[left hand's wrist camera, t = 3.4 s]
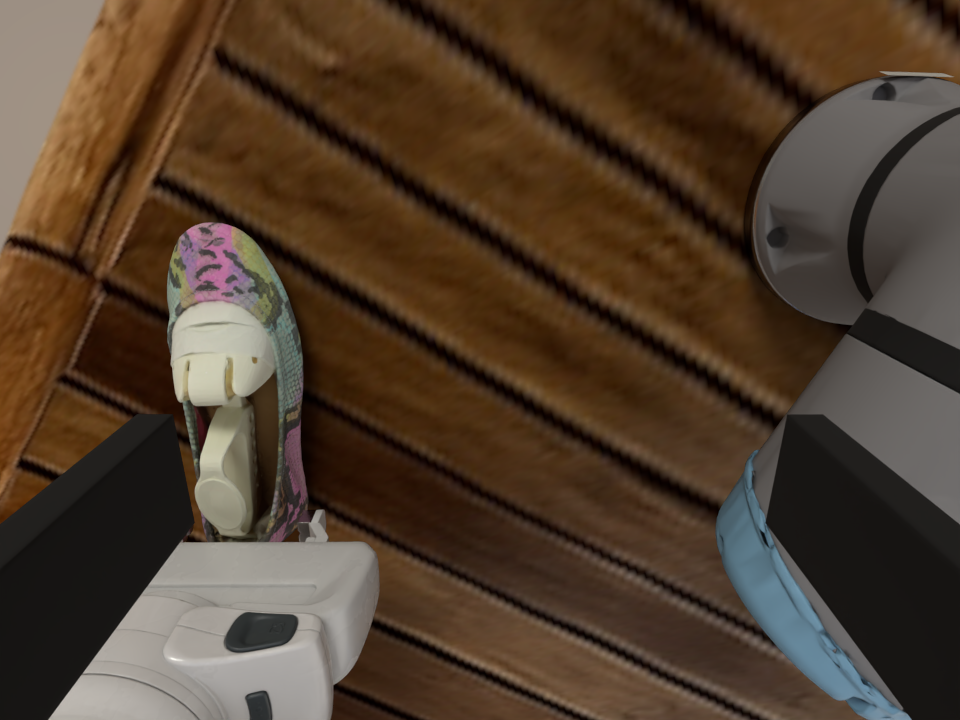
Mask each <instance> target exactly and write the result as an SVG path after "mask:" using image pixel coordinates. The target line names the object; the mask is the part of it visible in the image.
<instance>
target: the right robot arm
mask: <svg viewBox="0 0 960 720" xmlns="http://www.w3.org/2000/svg"><path fill="white" fill-rule="evenodd" d="M297 526H298V531H299V532H300V534H299V541H300V542H185V541H186V540H187V536H188V535H190V534H191V532H192V530H193V526H192V527H191V528H190V530H189V531H188V532H187V534H186V535H185V536H184V538H183V539H182V541H181V542H180V543H179V545H178V546H177V547H176V549H175V550H174V551H173V553H172V554H171V555H170V557H169V558H168V559H167V561H166V562H165V563H164V565H163V566H162V567H161V569H160V570H159V571H158V573H157V574H156V576H155V577H154V578H153V580H152V581H151V582H150V584H149V585H148V586H147V588H146V589H145V590H144V592H143V593H142V594H141V596H140V597H139V598H138V600H137V601H136V602H135V604H134V605H133V606H132V608H131V609H130V610H129V612H128V613H127V615H126V616H125V617H124V619H123V620H122V621H121V623H120V624H119V625H118V627H117V628H116V629H115V631H114V632H113V633H112V635H111V636H110V637H109V639H108V640H107V641H106V643H105V644H104V645H103V647H102V648H101V650H100V651H99V652H98V654H97V655H96V656H95V658H94V659H93V660H92V662H91V663H90V664H89V666H88V667H87V668H86V670H85V671H84V672H83V674H82V675H81V676H80V678H79V679H78V680H77V682H76V683H75V684H74V686H73V687H72V689H71V690H70V691H69V693H68V694H67V695H66V697H65V698H64V699H63V701H62V702H61V703H60V705H59V706H58V707H57V709H56V710H55V711H54V713H53V714H52V715H51V717H50V718H49V719H48V720H331V715H332V708H333V685H334V684H336V683H338V682H339V681H340V680H342V679H343V678H344V677H345V676H346V675H347V674H348V673H349V672H350V670H351V669H352V668H353V666H354V665H355V663H356V661H357V659H358V657H359V655H360V653H361V650H362V648H363V645H364V643H365V641H366V638H367V635H368V632H369V629H370V626H371V623H372V620H373V617H374V613H375V610H376V606H377V602H378V597H379V566H378V558H377V554H376V552H375V551H374V550H373V549H372V548H371V547H370V546H369V545H368V544H367V543H365V542H329V539H328V535H327V534H326V532H325V531H326V517H325V510H303V511H302V516H300V517H299V519H298V522H297Z"/></svg>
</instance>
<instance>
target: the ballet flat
mask: <svg viewBox="0 0 960 720" xmlns="http://www.w3.org/2000/svg"><path fill="white" fill-rule="evenodd" d="M167 300H168V306H169V312H170V320H169V325H168V345H169V349H170V354H171V366H172V368H173V379H174V387H175V393H176V396H177V399H178V401H179V402H183V407H184V411H185V417H186V423H187V427H188V432H189V437H190V443H191V449H192V454H193V460H194V467H195V474H196V478H197V484H196V487H195V498H196V501H197V504H198V507H199V509H200V511H201V516H202V523H203V527H204V531H205V534H206V538H207V541H208V542H283V541H284V540H285V539H286V538H287V537H288V536H289V535H290V534H291V533H292V532H293V531H294V530H295V529H296V528H297V527H298V526H297V522H298V519H299V517H300V516H302V511H303V510H307V507H308V493H307V488H306V483H305V475H304V471H303V464H302V459H301V441H300V436H301V430H300V428H301V406H302V395H303V354H302V347H301V341H300V336H299V332H298V328H297V324H296V320H295V317H294V313H293V310H292V307H291V304H290V301H289V299H288V296H287V293H286V291H285V289H284V287H283V284H282V282H281V280H280V278H279V276H278V275H277V273H276V271H275V269H274V268H273V266H272V264H271V263H270V262H269V260H268V259H267V257H266V256H265V254H264V253H263V251H262V250H261V248H260V247H259V246H258V245H257V243H256V242H255V241H254V240H253V239H251V238H250V237H249V236H248V235H247V234H245V233H244V232H243V231H241V230H239V229H237V228H235V227H233V226H230V225H227V224H223V223H202V224H199V225H196V226H194V227H192V228H190V229H189V230H187V231H186V232H185V233H184V234H183V235H182V236H181V237H180V238H179V240H178V242H177V244H176V246H175V248H174V251H173V255H172V258H171V262H170V265H169V272H168V283H167Z"/></svg>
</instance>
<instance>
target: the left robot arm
mask: <svg viewBox="0 0 960 720" xmlns="http://www.w3.org/2000/svg"><path fill="white" fill-rule="evenodd" d="M879 72H881V71H879ZM882 73H884V74H887V75H891V76H884V77H877V78H871V79H866V80H862V81H857V82H854V83H851V84H848V85H845V86H843V87H841V88H838V89H836V90H834V91H832V92H830V93H828V94H826V95H825V96H823V97H821V98H819V99H818V100H816V101H815V102H813V103H812V104H810V105H809V106H808V107H806V108H805V109H804V110H803V111H801V112H800V113H799V114H798V115H797V116H796V117H795V118H794V119H793V120H791V121H790V122H789V123H788V124H787V126H786V127H785V128H784V129H783V130H782V131H781V132H780V133H779V135H778V136H777V137H776V139H775V140H774V141H773V143H772V144H771V145H770V147H769V149H768V150H767V152H766V153H765V155H764V157H763V159H762V160H761V162H760V164H759V166H758V168H757V171H756V173H755V175H754V178H753V181H752V184H751V187H750V190H749V194H748V198H747V203H746V211H745V237H746V244H747V249H748V252H749V256H750V259H751V261H752V264H753V266H754V268H755V270H756V272H757V274H758V276H759V277H760V279H761V280H762V282H763V283H764V284H765V285H766V287H767V288H768V289H769V290H770V291H771V292H772V293H773V294H774V295H775V296H776V297H778V298H779V299H780V300H782V301H783V302H784V303H786V304H788V305H789V306H791V307H793V308H795V309H797V310H799V311H800V312H802V313H804V314H806V315H808V316H811V317H813V318H816V319H819V320H823V321H827V322H832V323H839V324H846V325H852V327H851V328H850V330H849V331H848V332H847V333H848V334H849V335H848V334H845V336H844V337H843V338H842V340H841V341H840V342H839V344H838V345H837V346H836V348H835V349H834V350H833V352H832V353H831V354H830V356H829V357H828V358H827V360H826V361H825V362H824V364H823V365H822V367H821V368H820V369H819V371H818V372H817V373H816V375H815V376H814V377H813V379H812V380H811V381H810V383H809V384H808V385H807V387H806V388H805V389H804V391H803V392H802V393H801V395H800V396H799V398H798V399H797V400H796V402H795V403H794V404H793V406H792V407H791V408H790V410H789V411H788V412H787V414H786V415H785V416H784V418H783V419H782V420H781V422H780V423H779V424H778V426H777V427H776V429H775V430H774V431H773V433H772V434H771V435H770V437H769V438H768V439H767V441H766V442H765V443H764V445H763V446H762V447H761V449H760V450H755V451H754V452H753V453H752V454H751V455H750V456H749V458H748V460H747V462H746V464H745V471H744V473H743V474H742V476H741V477H740V479H739V480H738V482H737V483H736V485H735V486H734V488H733V489H732V491H731V493H730V494H729V496H728V497H727V499H726V500H725V502H724V503H723V505H722V507H721V508H720V511H719V513H718V517H717V521H716V540H717V545H718V549H719V552H720V554H721V556H722V563H723V566H724V568H725V571H726V573H727V575H728V577H729V579H730V581H731V583H732V585H733V587H734V588H735V590H736V592H737V594H738V595H739V597H740V599H741V600H742V602H743V603H744V605H745V606H746V608H747V609H748V611H749V612H750V613H751V615H752V616H753V618H754V619H755V620H756V621H757V623H758V624H759V625H760V627H761V628H762V629H763V630H764V632H765V633H766V634H767V635H768V636H769V638H770V639H771V640H772V641H773V642H774V643H775V645H776V646H777V647H778V648H779V649H780V650H781V651H782V652H783V653H784V654H785V655H786V657H787V658H788V659H789V660H790V661H791V662H792V663H793V664H794V665H795V666H796V667H797V668H798V669H799V670H800V671H801V672H802V673H803V674H805V675H806V676H807V677H808V678H809V679H810V680H811V681H812V682H814V683H815V684H816V685H817V686H818V687H820V688H821V689H822V690H823V691H825V692H826V693H827V694H829V695H830V696H831V697H833V698H834V699H836V700H841V701H842V700H845V701H846V702H847V703H848V704H849V706H850V707H851V708H852V709H853V710H854V712H855V713H856V714H858V715H860V716H862V717H864V718H866V719H868V720H960V85H958V84H955V83H953V82H950V81H947V80H944V79H940V78H935V77H930V76H936V77H953V76H950V75H946V74H943V73H914V72H882ZM887 354H888V355H887ZM889 355H890V356H889ZM891 356H892V357H891ZM893 357H894V358H893ZM895 358H896V359H895ZM897 359H898V360H897ZM899 360H900V361H899ZM914 368H915V369H914ZM916 369H917V370H916ZM918 370H919V371H918ZM194 523H195V522H194V517H193V512H192V507H191V502H190V497H189V492H188V487H187V482H186V477H185V472H184V467H183V462H182V457H181V452H180V447H179V443H178V438H177V433H176V428H175V423H174V418H173V414H137V415H136V416H134V417H133V418H132V419H131V420H129V421H128V422H127V423H126V424H124V425H123V426H122V427H121V428H119V429H118V430H117V431H116V432H114V433H113V434H112V435H111V436H110V437H108V438H107V439H106V440H105V441H103V442H102V443H101V444H100V445H98V446H97V447H96V448H95V449H93V450H92V451H91V452H90V453H88V454H87V455H86V456H85V457H83V458H82V459H81V460H80V461H78V462H77V463H76V464H75V465H73V466H72V467H71V468H70V469H68V470H67V471H66V472H65V473H63V474H62V475H61V476H60V477H58V478H57V479H56V480H55V481H53V482H52V483H51V484H50V485H49V486H47V487H46V488H45V489H44V490H42V491H41V492H40V493H39V494H37V495H36V496H35V497H34V498H32V499H31V500H30V501H29V502H27V503H26V504H25V505H24V506H22V507H21V508H20V509H19V510H17V511H16V512H15V513H14V514H12V515H11V516H10V517H9V518H7V519H6V520H5V521H4V522H2V523H1V524H0V720H48V719H49V718H50V717H51V715H52V714H53V713H54V711H55V710H56V709H57V707H58V706H59V705H60V703H61V702H62V701H63V699H64V698H65V697H66V695H67V694H68V693H69V691H70V690H71V689H72V687H73V686H74V684H75V683H76V682H77V680H78V679H79V678H80V676H81V675H82V674H83V672H84V671H85V670H86V668H87V667H88V666H89V664H90V663H91V662H92V660H93V659H94V658H95V656H96V655H97V654H98V652H99V651H100V650H101V648H102V647H103V645H104V644H105V643H106V641H107V640H108V639H109V637H110V636H111V635H112V633H113V632H114V631H115V629H116V628H117V627H118V625H119V624H120V623H121V621H122V620H123V619H124V617H125V616H126V615H127V613H128V612H129V610H130V609H131V608H132V606H133V605H134V604H135V602H136V601H137V600H138V598H139V597H140V596H141V594H142V593H143V592H144V590H145V589H146V588H147V586H148V585H149V584H150V582H151V581H152V580H153V578H154V577H155V576H156V574H157V573H158V571H159V570H160V569H161V567H162V566H163V565H164V563H165V562H166V561H167V559H168V558H169V557H170V555H171V554H172V553H173V551H174V550H175V549H176V547H177V546H178V545H179V543H180V542H181V541H182V539H183V538H184V536H185V535H186V534H187V532H188V531H189V530H190V528H191V527H192V526H193V524H194Z"/></svg>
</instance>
